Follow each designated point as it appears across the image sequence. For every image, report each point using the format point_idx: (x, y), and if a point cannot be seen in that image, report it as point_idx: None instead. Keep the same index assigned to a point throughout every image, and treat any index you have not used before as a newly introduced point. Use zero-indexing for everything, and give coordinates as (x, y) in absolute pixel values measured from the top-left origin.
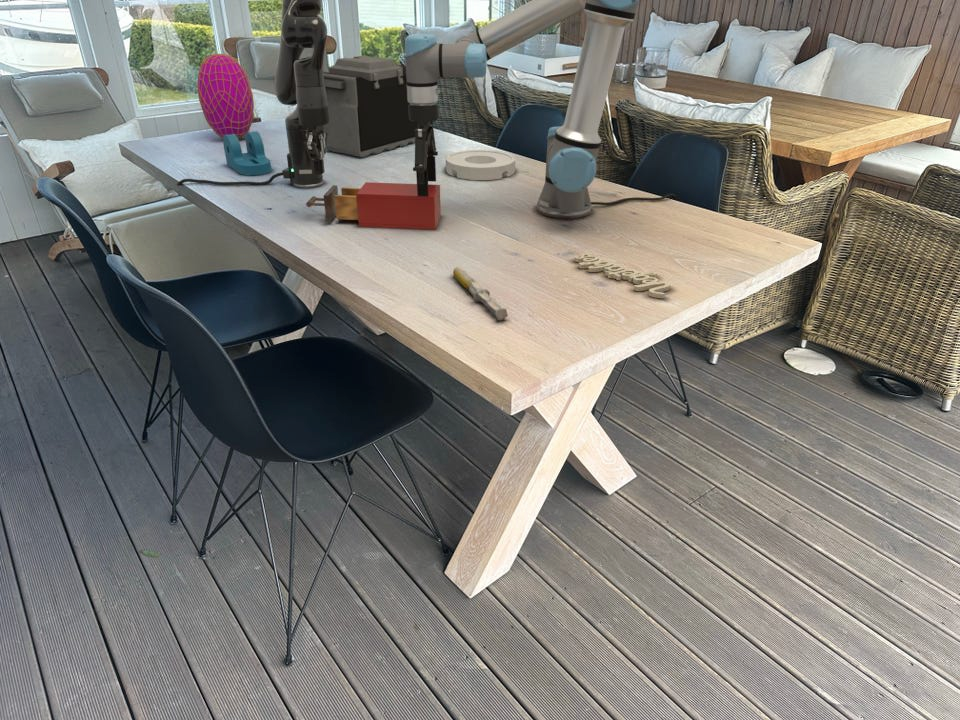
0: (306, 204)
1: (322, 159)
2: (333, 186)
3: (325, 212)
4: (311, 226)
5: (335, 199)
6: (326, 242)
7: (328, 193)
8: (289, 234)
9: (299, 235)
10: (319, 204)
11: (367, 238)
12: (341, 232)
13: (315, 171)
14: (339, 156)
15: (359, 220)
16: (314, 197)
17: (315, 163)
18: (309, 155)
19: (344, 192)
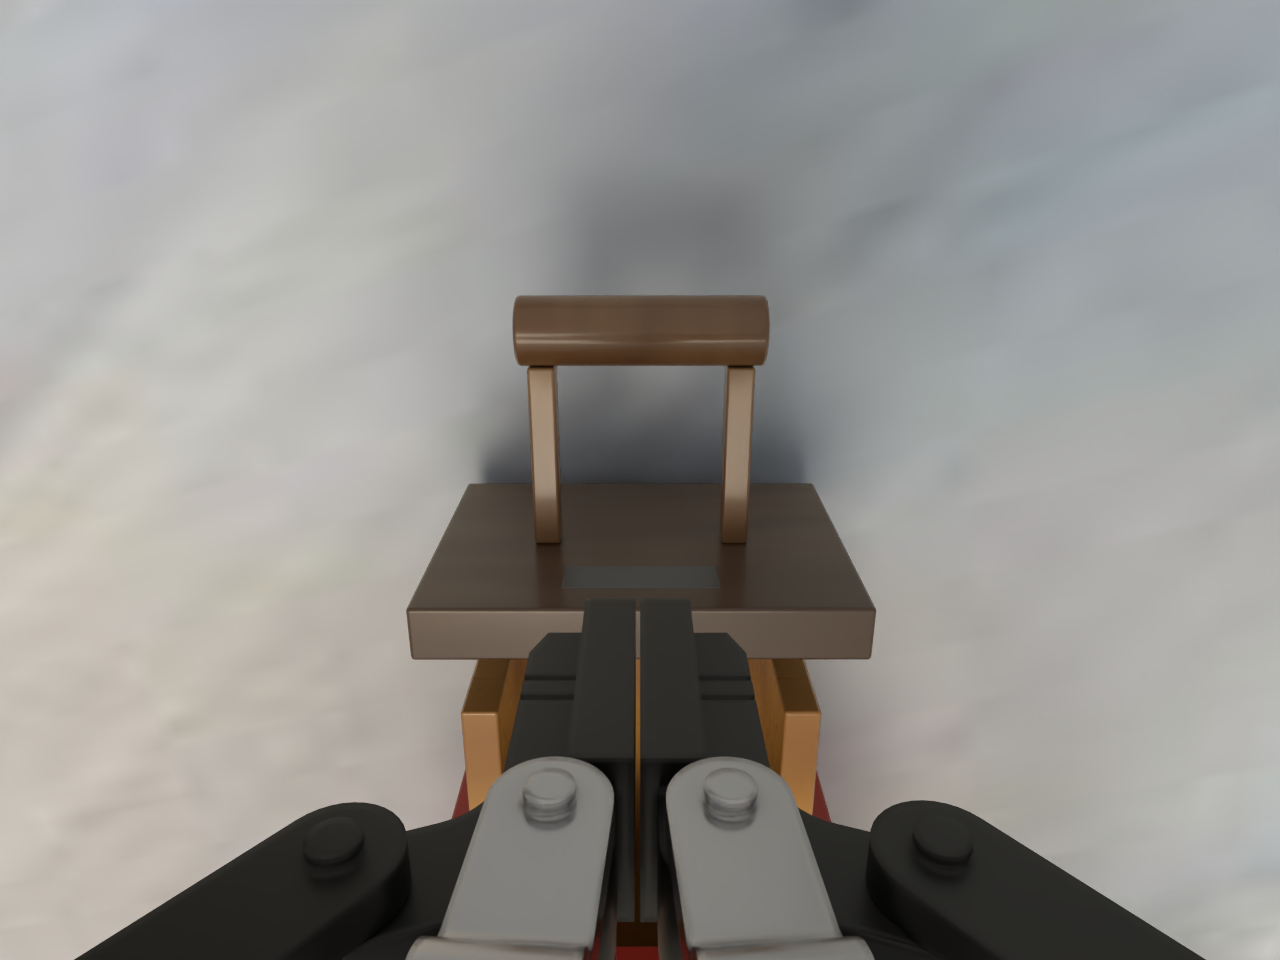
0: (515, 302)
1: (644, 918)
2: (819, 627)
3: (450, 521)
4: (402, 345)
5: (471, 695)
6: (56, 583)
7: (503, 645)
8: (129, 197)
9: (136, 307)
10: (531, 459)
11: (241, 835)
12: (315, 637)
13: (542, 641)
14: None
15: (465, 776)
16: (719, 354)
17: (512, 764)
18: (178, 919)
19: (773, 713)
